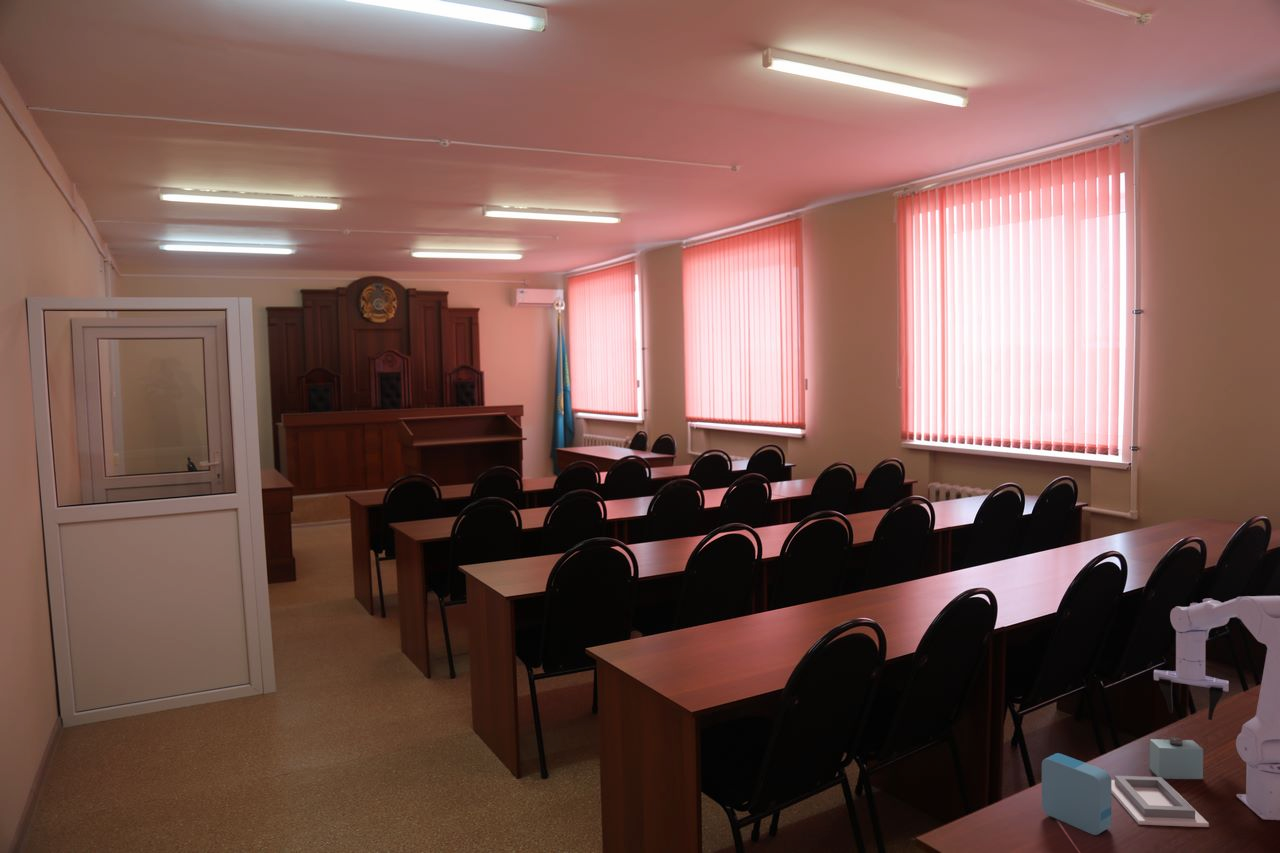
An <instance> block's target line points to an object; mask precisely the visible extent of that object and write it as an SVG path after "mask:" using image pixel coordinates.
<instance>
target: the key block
mask: <svg viewBox="0 0 1280 853" xmlns="http://www.w3.org/2000/svg"><path fill="white" fill-rule="evenodd" d="M1149 770H1150V771H1151V772H1152V773H1153V774H1154V775H1155V777H1162V778H1163V779H1168V780H1169V779H1170V780H1171V779H1173V780H1203V779H1204V748H1203V747H1201V746H1200V745H1199V744H1198V743H1196V741H1194V740H1193V739H1183V738H1181V737H1179V736H1170V737H1169V739H1159V738H1158V739H1157V738H1155V739H1154V738H1150V739H1149Z"/></svg>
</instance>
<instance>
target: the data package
mask: <svg viewBox="0 0 1280 853" xmlns="http://www.w3.org/2000/svg"><path fill="white" fill-rule="evenodd" d="M1111 780H1112V776H1111V775H1110V773H1109V772H1108V771H1106V770H1105V769H1104V768H1103V769H1102V768H1100V767H1098V766H1095V765H1093V764H1089V763H1087V762H1085V761H1082V760H1078V759H1076V758H1074V757H1071V756H1068V755H1065V754H1062V753H1061V752H1060V753H1059V752H1057V753H1054V754H1052V755H1049V756H1048V757H1046V758H1044V759H1043V760H1042V762H1041V808H1042V810H1043V811H1044V813H1045V814H1046V815H1047V816H1048V817H1051V818H1054V819H1056V820H1059V821H1060V822H1062V823H1066V824H1067V825H1070V826H1072V827H1074V828H1077V829H1078V830H1081V831H1083V832H1085V833H1088V834H1090V835H1092V836H1098V835H1100V834H1101V833H1103V832H1104V831H1106V830H1108V829H1109V828H1111V826H1112V793H1111Z"/></svg>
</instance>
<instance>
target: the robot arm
mask: <svg viewBox="0 0 1280 853" xmlns="http://www.w3.org/2000/svg"><path fill="white" fill-rule="evenodd" d="M1169 618H1170V623H1171V626H1172V628H1173V629H1174V630H1175V670H1173V671H1172V670H1160V669H1154V670H1153V681H1158V686H1159V688H1160V690H1161V692H1162V694H1163V697H1164V698H1165V701H1166V704H1167V708H1168V713H1169V714H1173V711H1174V704H1173V703H1174V702H1173V683H1176V684H1177V683H1178V684H1184V685H1190V686H1194V687H1195V686H1197V687H1204V688H1209V694H1208V695H1209V697H1208V698H1209V706H1208V716H1207V717H1208V718H1207V719H1208V720H1210V721H1213V715H1214V712H1215V710H1216V707H1217V705H1218V704H1219V701H1220V700H1221V698H1222V697H1223V691H1224V692H1229V687H1230V686H1229V680H1226V679H1220V678H1217V677H1212V676H1208V675H1206V641H1207V640H1208V638H1209V633H1210V631H1211V630H1212V629H1214V628H1219V627H1222V626H1225V625H1227V624H1228V623H1229V621H1230V619H1231V618H1237V619H1239V620H1240V621H1241V622H1242V624H1243V625H1244V626H1245V627H1246V629H1247V630H1248V631H1249V632H1250V633H1251V634H1252V636H1253V637H1254V639H1256V640H1257V642H1259V643H1261V644H1264V645H1265V646H1266V648H1267V649H1266V654H1265V661H1264V667H1263V673H1262V680H1261V683H1260V688H1259V696H1258V702H1257V706H1256V707H1257V708H1256V712H1255V713H1256V714H1255V716H1254V717H1252V718H1251V719H1250V720H1247V721H1246V722H1245V723H1243V725H1242V727H1241V732H1240V733H1239V734H1237V737H1236V740H1235V746H1236V751H1237V753H1238V755H1239V756H1240V758H1241V759H1242V761H1243V762H1245V763H1246V781H1245V782H1246V784H1245V785H1246V787H1245V793H1237V794H1235V795H1236V798H1238V799H1239V800H1240V802H1242V803H1243V804H1245V805H1246V806H1247V807H1248V808H1249V809H1250V810H1252V812H1254V813H1255V814H1256V815H1257V816H1259V817H1260V818H1261V819H1262V820H1269V821H1274V820H1275V821H1280V595H1256V596H1255V595H1254V596H1252V595H1251V596H1249V595H1247V596H1246V595H1245V596H1237V597H1236V598H1232V599H1229V600H1227V601H1226V600H1225V601H1224V602H1221V601H1219V600H1215V599H1213V598H1208V597H1207V598H1204V599H1202V602H1200V603H1198V602H1192V603H1190V604H1189V606H1178V605H1177V606H1175V607H1174V608H1172V609H1171V610H1170V615H1169Z"/></svg>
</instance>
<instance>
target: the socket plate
mask: <svg viewBox="0 0 1280 853" xmlns="http://www.w3.org/2000/svg"><path fill="white" fill-rule="evenodd" d="M1111 795H1113V796H1114V797H1115V799H1116V800H1117V801H1118V803H1120V804H1121V805H1122V807H1123V808H1124V809H1125V810H1126V811H1127V813H1128V814H1129V815H1130V816H1131V818H1132V819H1134V821H1135V822H1136V823H1137V825H1141V826H1142V825H1144V826H1145V825H1146V826H1148V825H1149V826H1150V825H1151V826H1169V827H1170V826H1171V827H1172V826H1173V827H1191V828H1192V827H1194V828H1195V827H1197V828H1198V827H1199V828H1209V827H1210V824H1209V822H1208V821H1207V820H1206V819H1205V818H1204V817H1203V816H1202V815H1201V814H1200V813H1199V812H1198V811H1197V810H1196V809H1195V808H1194V807H1193V806H1192V805H1191V804H1189V802H1188V801H1187V800H1186V799H1185V798H1183V796H1182V795H1181V794H1180V793H1179V792H1178V791H1177V790H1176V789H1175V788H1173V786H1172V785H1170V784H1169V783H1168V782H1167V781H1166V780H1165V778H1162V777H1157V776H1138V775H1114V779H1111Z"/></svg>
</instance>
